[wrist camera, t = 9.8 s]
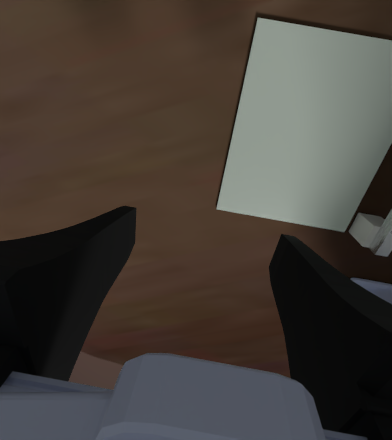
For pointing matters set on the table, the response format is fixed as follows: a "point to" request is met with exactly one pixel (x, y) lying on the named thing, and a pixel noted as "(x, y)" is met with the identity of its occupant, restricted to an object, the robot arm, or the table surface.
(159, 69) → the table surface
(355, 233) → the gray bar handle
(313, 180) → the sage mat
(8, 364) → the robot arm
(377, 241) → the grey bar
